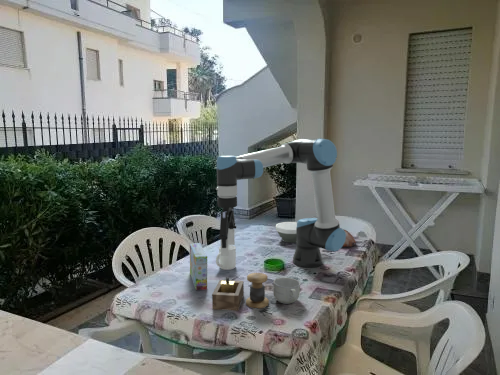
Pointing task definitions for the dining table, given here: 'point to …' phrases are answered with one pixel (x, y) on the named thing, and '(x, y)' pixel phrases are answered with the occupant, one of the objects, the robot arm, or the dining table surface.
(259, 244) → the dining table surface
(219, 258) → the mug
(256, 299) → the bobbin
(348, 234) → the bread
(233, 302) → the open wooden crate
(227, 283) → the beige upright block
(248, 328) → the dining table surface
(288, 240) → the bowl
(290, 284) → the teacup
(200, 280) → the snack box
